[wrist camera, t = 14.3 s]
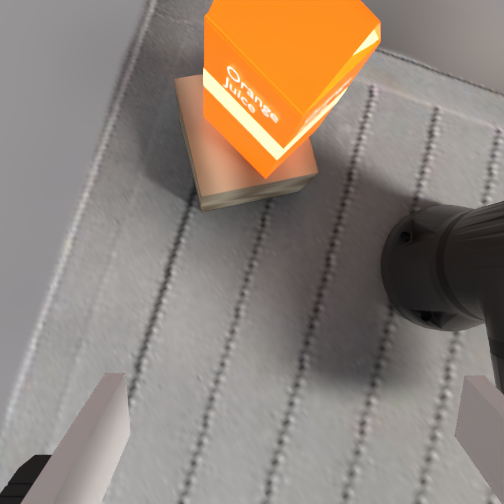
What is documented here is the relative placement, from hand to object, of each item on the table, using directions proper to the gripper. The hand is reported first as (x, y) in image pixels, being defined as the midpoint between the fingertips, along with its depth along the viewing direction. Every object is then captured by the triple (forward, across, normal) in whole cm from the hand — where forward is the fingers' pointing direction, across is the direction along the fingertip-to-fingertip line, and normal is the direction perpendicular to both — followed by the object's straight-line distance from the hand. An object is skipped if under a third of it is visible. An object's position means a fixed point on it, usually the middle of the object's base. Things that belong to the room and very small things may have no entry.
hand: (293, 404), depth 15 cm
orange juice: (+28, -1, +12) cm, 31 cm away
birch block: (+35, -3, +9) cm, 37 cm away
